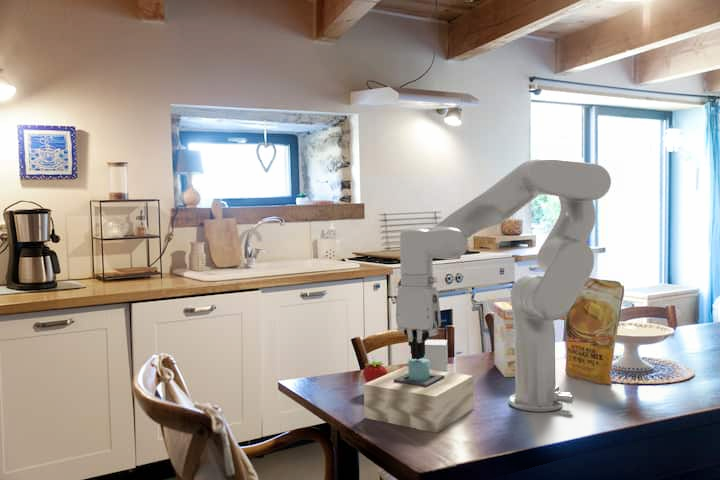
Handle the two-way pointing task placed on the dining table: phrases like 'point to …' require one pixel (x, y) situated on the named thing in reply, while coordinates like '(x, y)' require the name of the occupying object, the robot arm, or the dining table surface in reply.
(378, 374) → the strawberry
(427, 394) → the collar block
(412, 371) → the teal peg
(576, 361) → the pancake mix bag
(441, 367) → the supplement box
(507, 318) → the coffeecake box
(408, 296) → the robot arm
